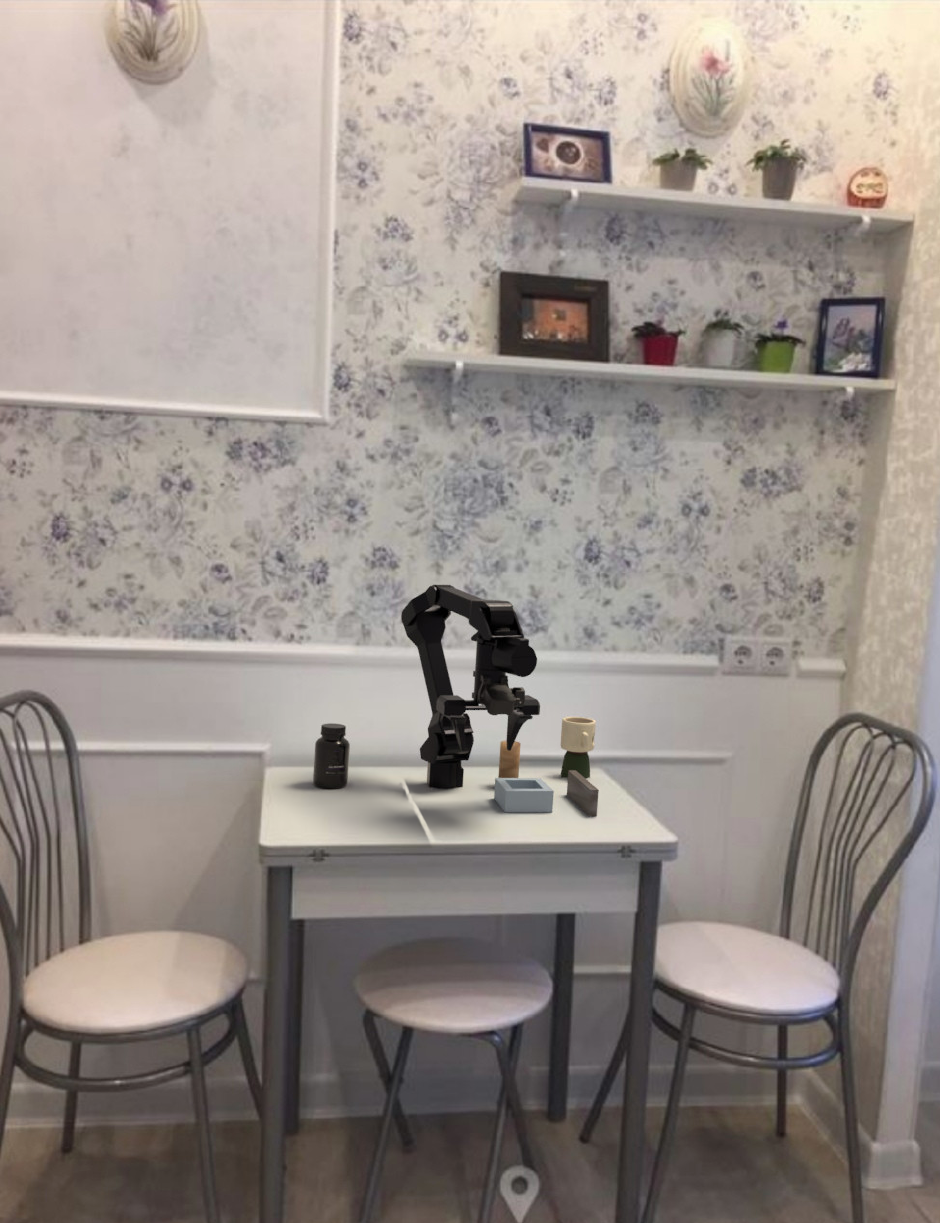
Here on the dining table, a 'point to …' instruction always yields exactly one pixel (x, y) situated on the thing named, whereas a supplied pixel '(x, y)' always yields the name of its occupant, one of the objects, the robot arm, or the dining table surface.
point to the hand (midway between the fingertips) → (485, 750)
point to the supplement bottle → (331, 757)
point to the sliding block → (523, 795)
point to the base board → (582, 793)
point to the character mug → (577, 744)
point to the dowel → (509, 760)
